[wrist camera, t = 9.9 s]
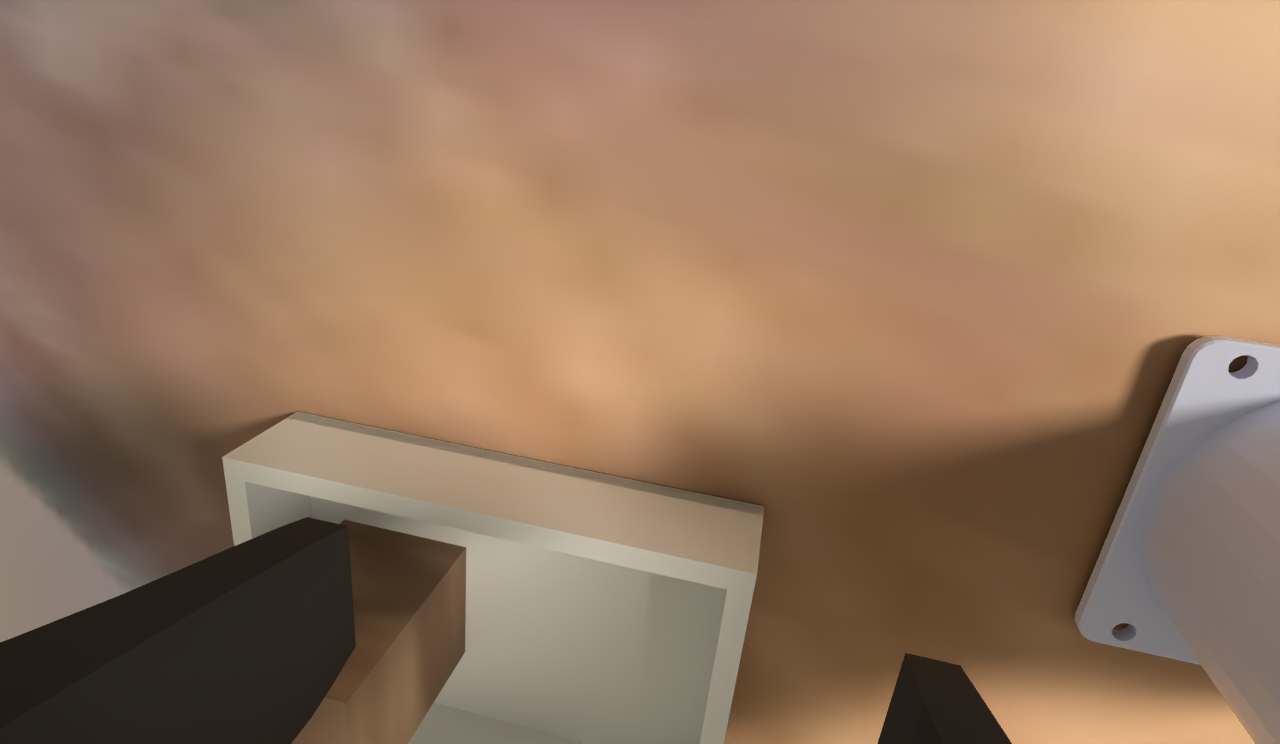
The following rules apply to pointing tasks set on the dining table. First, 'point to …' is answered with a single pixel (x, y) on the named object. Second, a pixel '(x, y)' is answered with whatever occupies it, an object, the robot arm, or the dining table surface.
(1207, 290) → the dining table surface
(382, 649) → the walnut block
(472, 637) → the parts bin
